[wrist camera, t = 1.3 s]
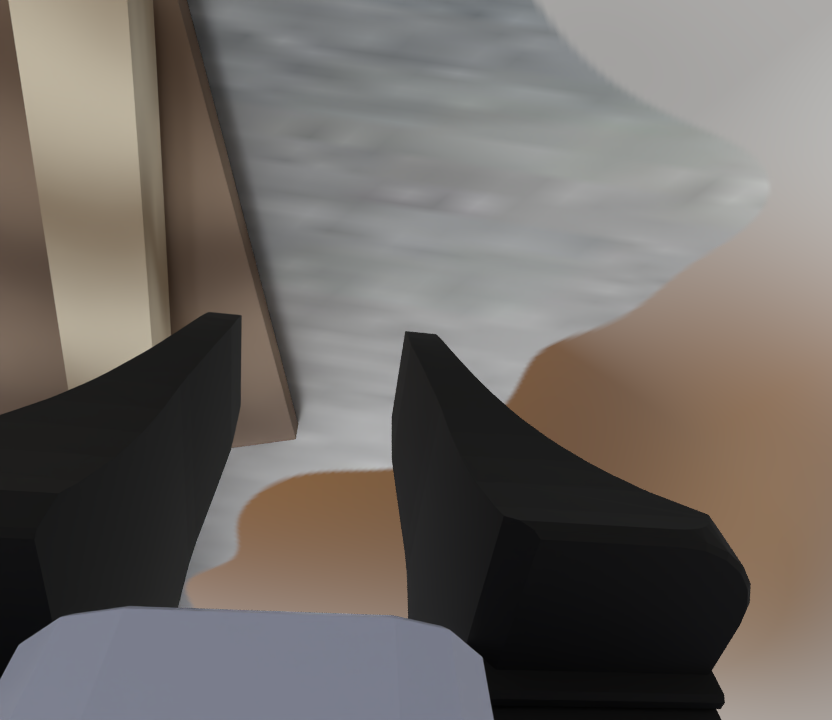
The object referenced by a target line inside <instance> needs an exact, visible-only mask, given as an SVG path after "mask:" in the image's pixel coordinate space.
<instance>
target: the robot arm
mask: <svg viewBox="0 0 832 720" xmlns="http://www.w3.org/2000/svg"><path fill="white" fill-rule="evenodd" d="M241 336H242V315H236V314H225V313H215V312H207V313H205V314H203V315H202V316H200V317H198V318H197V319H195V320H194V321H192V322H191V323H189V324H188V325H186V326H185V327H183V328H182V329H180V330H178V331H177V332H175V333H174V334H172V335H171V336H169V337H168V338H166V339H164V340H163V341H161V342H160V343H158V344H156V345H155V346H153V347H152V348H150V349H148V350H147V351H145V352H143V353H141V354H140V355H138V356H136V357H134V358H132V359H131V360H129V361H127V362H125V363H123V364H122V365H120V366H118V367H116V368H114V369H113V370H111V371H109V372H107V373H105V374H103V375H101V376H99V377H97V378H95V379H93V380H91V381H88V382H86V383H84V384H82V385H79V386H77V387H75V388H72V389H70V390H68V391H65V392H63V393H61V394H58V395H56V396H53V397H51V398H48V399H45V400H42V401H39V402H36V403H33V404H31V405H28V406H25V407H22V408H19V409H16V410H13V411H10V412H7V413H4V414H1V415H0V720H721V718H720V716H719V714H718V712H717V710H716V709H721V708H722V706H723V705H724V703H725V701H724V693H723V692H722V690H721V688H720V686H719V684H718V682H717V680H716V678H715V676H714V674H713V672H712V669H713V667H714V666H715V664H716V663H717V661H718V659H719V658H720V656H721V654H722V653H723V651H724V650H725V648H726V647H727V645H728V643H729V642H730V640H731V639H732V637H733V635H734V634H735V632H736V630H737V629H738V627H739V626H740V623H741V621H742V619H743V617H744V614H745V612H746V610H747V607H748V605H749V603H750V585H751V584H750V581H749V579H748V576H747V574H746V572H745V569H744V567H743V565H742V564H741V562H740V561H739V559H738V558H737V556H736V555H735V553H734V552H733V550H732V549H731V548H730V546H729V544H728V543H727V542H726V540H725V538H724V537H723V535H722V534H721V532H720V531H719V529H718V528H717V526H716V525H715V524H714V522H713V521H712V519H711V518H710V516H709V515H707V514H705V513H702V512H700V511H697V510H694V509H692V508H689V507H687V506H684V505H681V504H679V503H676V502H674V501H671V500H668V499H666V498H663V497H661V496H658V495H655V494H653V493H650V492H648V491H646V490H643V489H641V488H639V487H637V486H634V485H632V484H630V483H628V482H626V481H624V480H622V479H620V478H618V477H615V476H613V475H611V474H609V473H607V472H605V471H603V470H602V469H600V468H598V467H596V466H594V465H592V464H590V463H588V462H587V461H585V460H583V459H582V458H580V457H578V456H576V455H575V454H573V453H571V452H570V451H568V450H566V449H565V448H563V447H561V446H560V445H558V444H557V443H555V442H554V441H552V440H550V439H549V438H547V437H546V436H544V435H543V434H542V433H540V432H539V431H538V430H536V429H535V428H534V427H532V426H531V425H530V424H528V423H527V422H525V421H524V420H522V419H521V418H520V417H519V416H518V415H516V414H515V413H514V412H513V411H512V410H510V409H509V408H508V407H507V406H506V405H505V404H504V403H502V402H501V401H500V400H499V399H498V398H497V397H496V396H495V395H493V394H492V393H491V392H490V391H489V390H488V389H487V388H486V387H485V386H484V385H483V384H482V383H481V382H480V381H479V380H478V379H477V378H476V377H475V376H474V375H473V374H472V373H471V372H470V371H469V370H468V368H467V367H466V366H465V365H464V364H463V363H462V362H461V361H460V360H459V359H458V358H457V356H456V355H455V354H454V353H453V352H452V351H451V350H450V349H449V347H448V346H447V345H446V344H445V343H444V342H443V341H442V340H441V339H440V338H439V337H438V336H437V335H436V334H428V333H418V332H407V331H405V336H404V343H403V349H402V356H401V362H400V368H399V375H398V381H397V388H396V394H395V400H394V407H393V413H392V464H393V471H394V479H395V486H396V493H397V500H398V507H399V514H400V522H401V529H402V536H403V543H404V550H405V559H406V569H407V588H408V589H407V590H408V619H407V618H402V617H398V616H393V615H367V614H365V615H364V614H339V613H311V612H283V611H282V612H281V611H253V610H227V609H198V608H178V605H179V601H180V597H181V593H182V589H183V585H184V581H185V577H186V573H187V570H188V566H189V562H190V559H191V556H192V553H193V550H194V547H195V544H196V541H197V538H198V536H199V533H200V531H201V528H202V525H203V523H204V520H205V517H206V515H207V512H208V509H209V507H210V504H211V502H212V499H213V496H214V494H215V491H216V488H217V486H218V483H219V480H220V478H221V475H222V472H223V470H224V467H225V464H226V462H227V459H228V456H229V453H230V451H231V448H232V443H233V439H234V435H235V430H236V426H237V421H238V417H239V412H240V407H241Z"/></svg>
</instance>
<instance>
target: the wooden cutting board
mask: <svg viewBox="0 0 832 720" xmlns="http://www.w3.org/2000/svg"><path fill="white" fill-rule="evenodd" d="M153 10H154V28H155V47H156V65H157V84H158V102H159V121H160V139H161V158H162V177H163V195H164V214H165V232H166V251H167V269H168V288H169V307H170V325H171V335H172V334H174V333H175V332H177V331H178V330H180V329H182V328H183V327H185V326H186V325H188V324H189V323H191V322H192V321H194V320H195V319H197V318H198V317H200V316H202V315H203V314H205V313H207V312H215V313H225V314H236V315H242V336H241V407H240V412H239V417H238V421H237V426H236V430H235V435H234V439H233V443H232V448H235V447H242V446H250V445H257V444H264V443H272V442H279V441H286V440H294V439H296V434H297V428H298V422H297V418H296V414H295V410H294V406H293V403H292V399H291V395H290V391H289V387H288V383H287V380H286V376H285V372H284V368H283V364H282V361H281V357H280V353H279V349H278V345H277V342H276V338H275V334H274V330H273V326H272V323H271V319H270V315H269V311H268V307H267V303H266V300H265V296H264V292H263V288H262V284H261V281H260V277H259V273H258V269H257V265H256V262H255V258H254V254H253V250H252V246H251V243H250V239H249V235H248V231H247V227H246V223H245V220H244V216H243V212H242V208H241V204H240V201H239V197H238V193H237V189H236V185H235V182H234V178H233V174H232V170H231V166H230V162H229V159H228V155H227V151H226V147H225V143H224V140H223V136H222V132H221V128H220V124H219V121H218V117H217V113H216V109H215V105H214V102H213V98H212V94H211V90H210V86H209V82H208V79H207V75H206V71H205V67H204V63H203V60H202V56H201V52H200V48H199V44H198V41H197V37H196V33H195V29H194V25H193V22H192V18H191V14H190V10H189V6H188V2H187V0H153ZM65 391H68V384H67V378H66V371H65V365H64V358H63V352H62V345H61V339H60V332H59V326H58V319H57V313H56V306H55V300H54V293H53V287H52V280H51V274H50V268H49V261H48V255H47V248H46V242H45V235H44V229H43V222H42V216H41V209H40V203H39V196H38V190H37V183H36V177H35V170H34V164H33V157H32V151H31V144H30V138H29V131H28V125H27V118H26V112H25V105H24V99H23V92H22V86H21V79H20V73H19V66H18V60H17V53H16V47H15V40H14V34H13V27H12V21H11V14H10V8H9V1H8V0H0V415H1V414H4V413H7V412H10V411H13V410H16V409H19V408H22V407H25V406H28V405H31V404H33V403H36V402H39V401H42V400H45V399H48V398H51V397H53V396H56V395H58V394H61V393H63V392H65Z"/></svg>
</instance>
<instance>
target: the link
mask: <svg viewBox="0 0 832 720" xmlns="http://www.w3.org/2000/svg"><path fill="white" fill-rule="evenodd" d="M8 1H9V8H10V14H11V21H12V27H13V34H14V40H15V47H16V53H17V60H18V66H19V73H20V79H21V86H22V92H23V99H24V105H25V112H26V118H27V125H28V131H29V138H30V144H31V151H32V157H33V164H34V170H35V177H36V183H37V190H38V196H39V203H40V209H41V216H42V222H43V229H44V235H45V242H46V248H47V255H48V261H49V268H50V274H51V280H52V287H53V293H54V300H55V306H56V313H57V319H58V326H59V332H60V339H61V345H62V352H63V358H64V365H65V371H66V378H67V384H68V390H70V389H72V388H75V387H77V386H79V385H82V384H84V383H86V382H88V381H91V380H93V379H95V378H97V377H99V376H101V375H103V374H105V373H107V372H109V371H111V370H113V369H114V368H116V367H118V366H120V365H122V364H123V363H125V362H127V361H129V360H131V359H132V358H134V357H136V356H138V355H140V354H141V353H143V352H145V351H147V350H148V349H150V348H152V347H153V346H155V345H156V344H158V343H160V342H161V341H163V340H164V339H166V338H168V337H169V336H171V325H170V307H169V288H168V269H167V251H166V232H165V214H164V195H163V177H162V158H161V139H160V121H159V102H158V84H157V65H156V47H155V28H154V10H153V0H8Z"/></svg>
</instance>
